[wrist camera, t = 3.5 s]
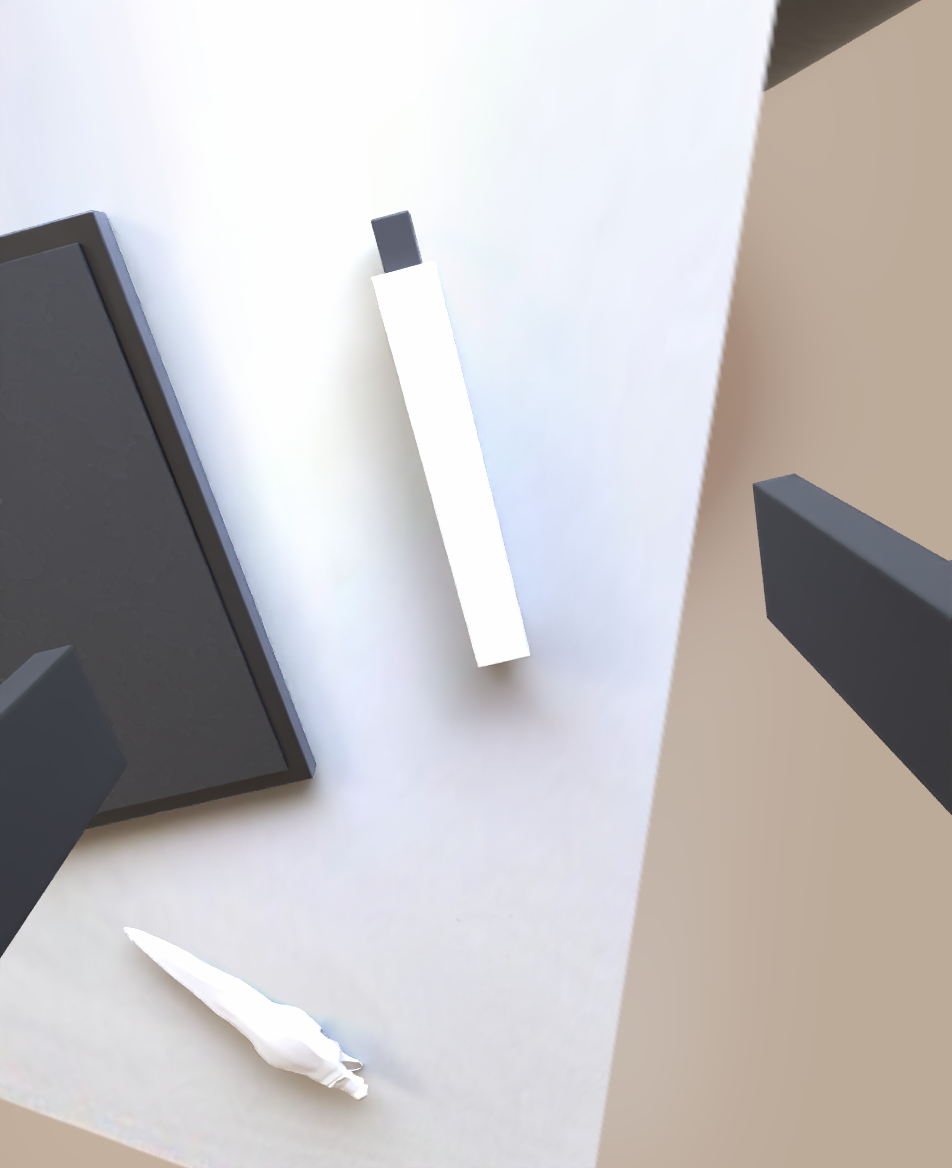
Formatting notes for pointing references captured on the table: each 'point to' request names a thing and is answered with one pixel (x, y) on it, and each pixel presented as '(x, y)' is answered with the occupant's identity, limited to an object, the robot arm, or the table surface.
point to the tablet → (125, 536)
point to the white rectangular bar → (447, 441)
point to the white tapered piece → (260, 1019)
